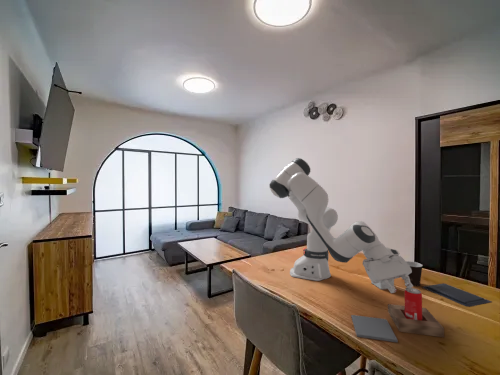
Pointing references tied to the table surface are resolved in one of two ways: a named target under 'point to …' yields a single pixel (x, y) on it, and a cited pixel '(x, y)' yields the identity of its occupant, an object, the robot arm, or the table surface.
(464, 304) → the wallet
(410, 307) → the beverage can
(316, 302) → the table surface
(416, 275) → the coffee mug
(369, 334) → the coaster tile
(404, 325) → the can holder
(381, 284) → the supplement box
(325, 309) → the table surface
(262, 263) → the table surface
